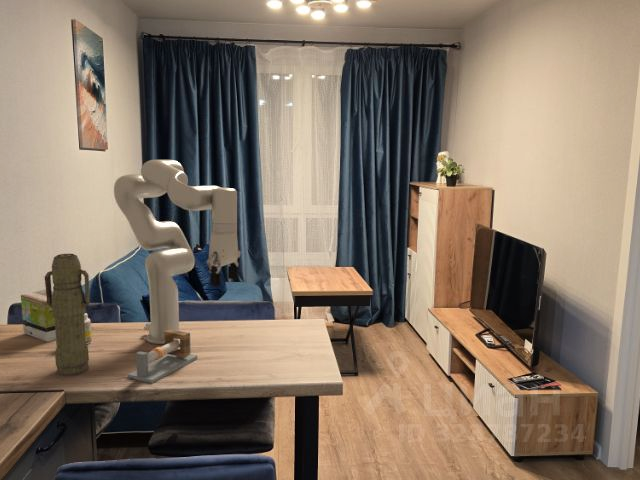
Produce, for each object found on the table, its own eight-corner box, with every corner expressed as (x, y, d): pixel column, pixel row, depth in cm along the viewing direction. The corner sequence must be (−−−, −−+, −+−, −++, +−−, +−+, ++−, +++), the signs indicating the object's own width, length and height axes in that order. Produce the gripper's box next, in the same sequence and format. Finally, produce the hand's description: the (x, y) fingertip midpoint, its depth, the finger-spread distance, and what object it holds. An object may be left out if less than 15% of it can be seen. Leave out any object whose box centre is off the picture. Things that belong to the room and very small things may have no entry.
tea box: (22, 334, 187) (19, 294, 185) (49, 327, 196) (46, 288, 193) (47, 342, 179) (44, 300, 177) (74, 334, 188) (71, 294, 186)
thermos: (55, 365, 160) (47, 252, 154) (96, 363, 162) (90, 251, 157) (46, 377, 151) (38, 258, 146) (90, 374, 154) (83, 257, 148)
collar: (165, 353, 165) (164, 331, 164) (170, 351, 167) (169, 329, 166) (184, 357, 162) (183, 335, 161) (189, 354, 164) (188, 332, 163)
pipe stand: (127, 377, 152) (126, 351, 151) (176, 353, 171) (175, 330, 170) (152, 383, 148) (151, 357, 147) (198, 357, 168) (198, 334, 166)
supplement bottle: (74, 341, 181) (72, 312, 179) (91, 339, 183) (90, 311, 181) (73, 346, 176) (71, 317, 174) (91, 344, 178) (89, 315, 176)
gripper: (229, 223, 171) (229, 274, 174) (197, 230, 155) (197, 286, 158) (249, 225, 168) (248, 277, 171) (219, 233, 153) (219, 290, 156)
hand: (224, 282), depth 165 cm, fingers open, 9 cm apart
